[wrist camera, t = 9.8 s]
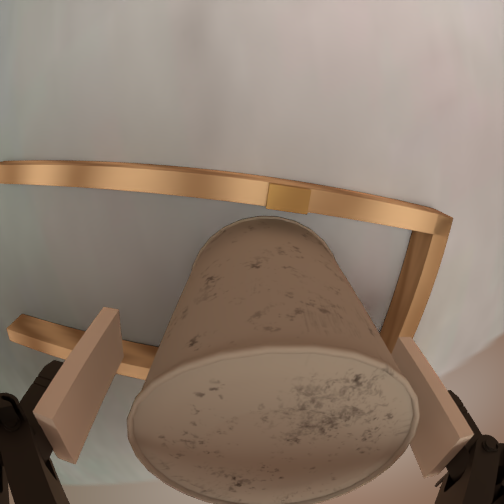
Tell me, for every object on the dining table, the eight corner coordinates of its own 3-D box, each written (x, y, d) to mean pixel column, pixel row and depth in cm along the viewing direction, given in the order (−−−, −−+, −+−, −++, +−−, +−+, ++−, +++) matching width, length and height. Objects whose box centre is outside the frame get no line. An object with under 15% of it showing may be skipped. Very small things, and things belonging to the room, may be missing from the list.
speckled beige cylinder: (350, 327, 21) (411, 475, 9) (221, 362, 22) (202, 516, 10) (319, 195, 18) (422, 293, 6) (167, 243, 19) (68, 380, 7)
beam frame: (25, 325, 21) (6, 344, 19) (5, 160, 17) (-23, 166, 14) (374, 378, 23) (385, 404, 20) (433, 208, 18) (458, 220, 15)
